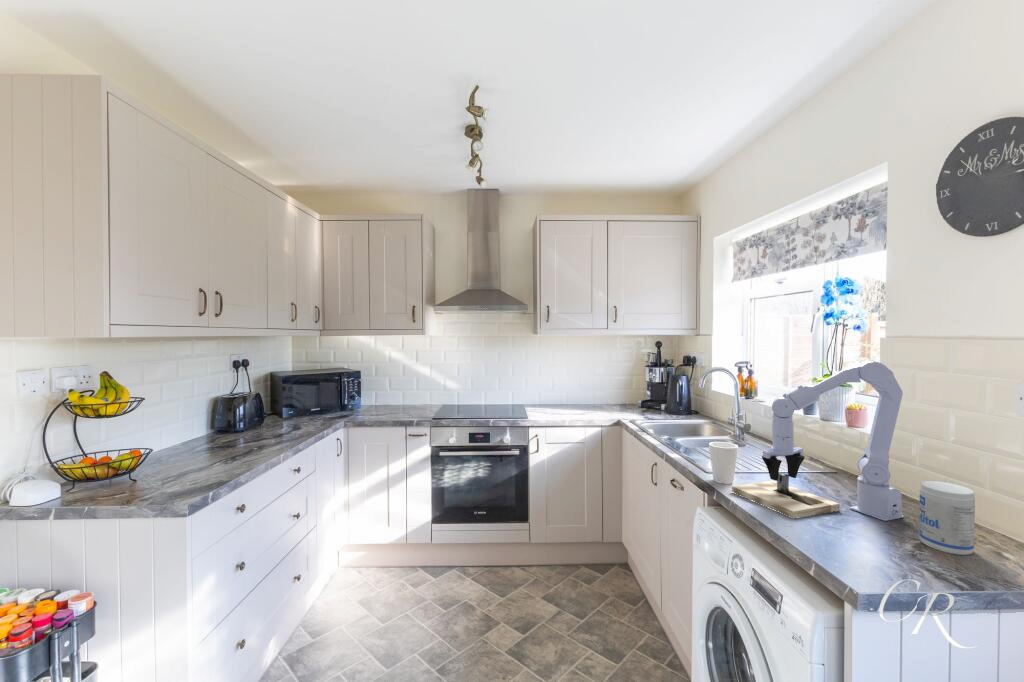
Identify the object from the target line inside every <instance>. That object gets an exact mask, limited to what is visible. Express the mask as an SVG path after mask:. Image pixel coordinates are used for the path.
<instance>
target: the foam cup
mask: <svg viewBox="0 0 1024 682" xmlns="http://www.w3.org/2000/svg"><path fill="white" fill-rule="evenodd" d="M708 451H709V457H710V465H711V471H712V479H713V481H714V482H715V481H716V482H715V483H717V482H718V484H721V483H724V484H723V485H732V484H731V483H733V484H734V480H735V474H736V467H737V461H738V454H739V445H738V444H735V443H731V442H728V441H727V442H726V441H711V442H709V443H708Z"/></svg>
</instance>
